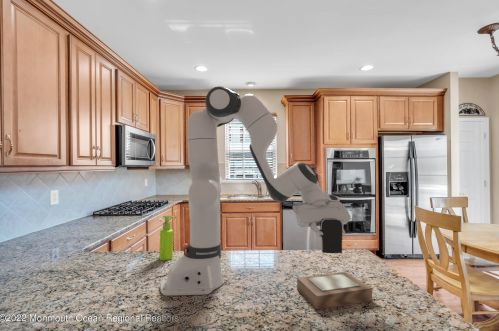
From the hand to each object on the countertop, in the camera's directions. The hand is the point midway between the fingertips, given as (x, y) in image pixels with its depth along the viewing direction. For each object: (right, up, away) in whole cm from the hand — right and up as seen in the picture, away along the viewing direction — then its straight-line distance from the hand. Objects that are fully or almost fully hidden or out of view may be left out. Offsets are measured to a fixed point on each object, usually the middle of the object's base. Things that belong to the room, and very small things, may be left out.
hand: (331, 234), depth 82 cm
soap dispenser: (-67, -21, +32) cm, 77 cm away
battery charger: (0, -6, +1) cm, 6 cm away
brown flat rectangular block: (0, -20, -1) cm, 20 cm away
